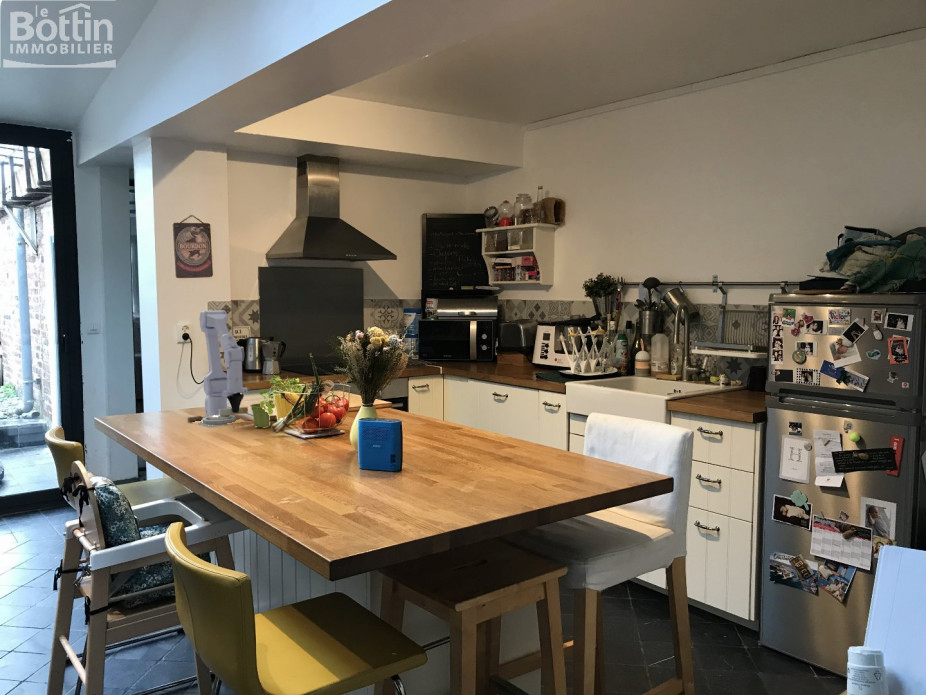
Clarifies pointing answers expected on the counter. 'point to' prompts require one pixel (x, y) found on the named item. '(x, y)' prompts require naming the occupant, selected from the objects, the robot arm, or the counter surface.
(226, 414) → the dial
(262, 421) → the plant pot
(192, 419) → the screwdriver
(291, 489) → the counter surface
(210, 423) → the board
